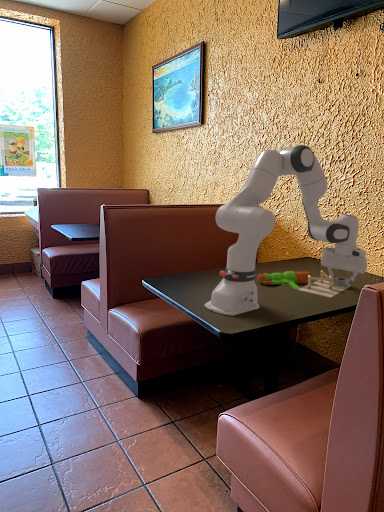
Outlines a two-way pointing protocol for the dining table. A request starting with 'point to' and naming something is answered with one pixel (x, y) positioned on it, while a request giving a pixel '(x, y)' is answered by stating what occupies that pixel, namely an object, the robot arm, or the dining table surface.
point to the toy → (285, 278)
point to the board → (322, 289)
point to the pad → (342, 287)
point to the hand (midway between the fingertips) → (341, 278)
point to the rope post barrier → (321, 279)
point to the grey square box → (340, 282)
